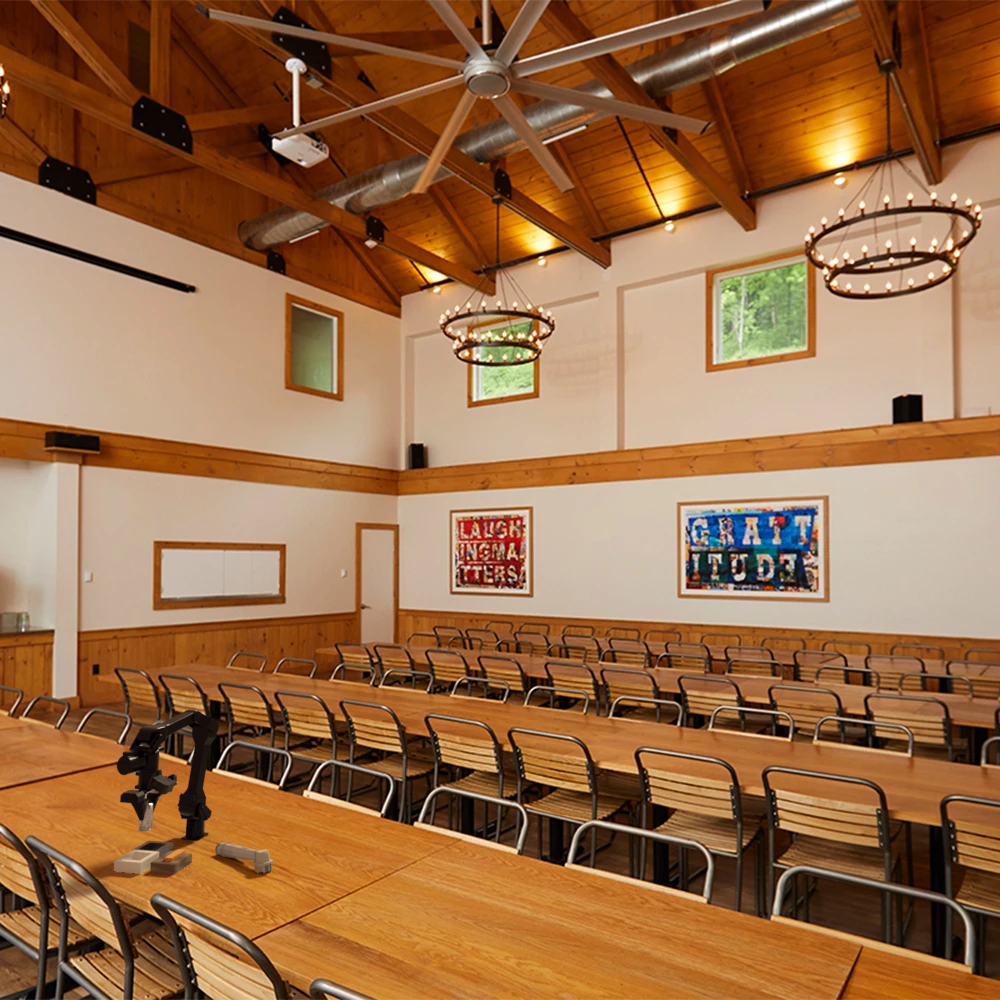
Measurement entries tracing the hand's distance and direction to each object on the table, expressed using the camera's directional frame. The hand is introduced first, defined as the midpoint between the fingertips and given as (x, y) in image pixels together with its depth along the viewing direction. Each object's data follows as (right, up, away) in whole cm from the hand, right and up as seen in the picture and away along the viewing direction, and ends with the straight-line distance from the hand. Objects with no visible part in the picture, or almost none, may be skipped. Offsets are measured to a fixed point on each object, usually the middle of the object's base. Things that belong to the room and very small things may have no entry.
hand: (145, 818), depth 244 cm
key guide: (+11, -13, -6) cm, 18 cm away
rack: (0, -13, -6) cm, 14 cm away
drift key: (+11, -13, -5) cm, 17 cm away
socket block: (0, -13, +4) cm, 14 cm away
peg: (0, -3, 0) cm, 3 cm away
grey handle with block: (+32, -14, -2) cm, 35 cm away
